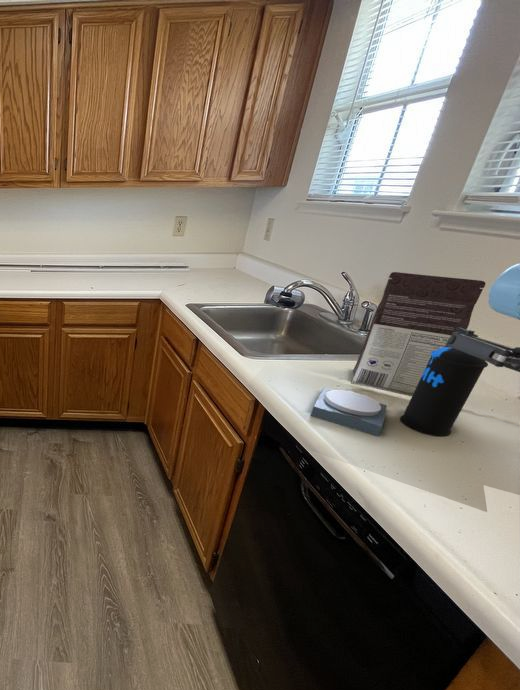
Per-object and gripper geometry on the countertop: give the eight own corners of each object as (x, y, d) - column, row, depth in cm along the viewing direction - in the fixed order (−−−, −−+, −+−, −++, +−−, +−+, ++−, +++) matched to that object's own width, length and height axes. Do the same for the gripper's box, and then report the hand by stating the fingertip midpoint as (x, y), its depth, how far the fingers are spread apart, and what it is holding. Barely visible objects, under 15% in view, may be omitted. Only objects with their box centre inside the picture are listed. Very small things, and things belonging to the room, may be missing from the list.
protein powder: (430, 389, 104) (485, 277, 92) (435, 403, 98) (495, 285, 86) (349, 372, 113) (390, 268, 101) (349, 384, 106) (392, 274, 94)
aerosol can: (446, 423, 90) (492, 336, 81) (454, 441, 84) (505, 349, 75) (397, 411, 94) (436, 328, 86) (402, 428, 88) (444, 340, 79)
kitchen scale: (383, 414, 93) (389, 401, 92) (378, 436, 85) (384, 422, 84) (320, 396, 101) (324, 384, 99) (310, 415, 92) (315, 402, 91)
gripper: (451, 378, 63) (406, 344, 80) (694, 440, 53) (584, 386, 71) (481, 331, 60) (428, 306, 77) (745, 388, 50) (616, 345, 68)
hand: (503, 344), depth 74 cm, fingers open, 13 cm apart
